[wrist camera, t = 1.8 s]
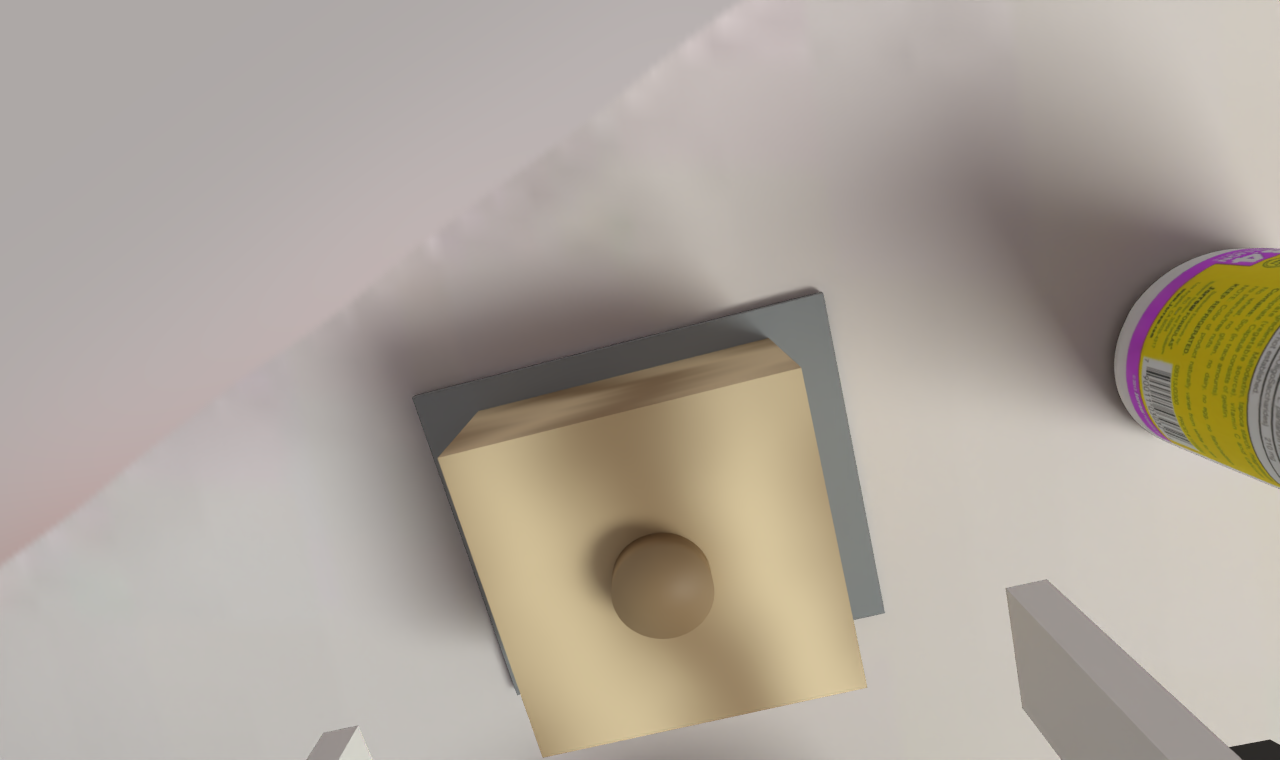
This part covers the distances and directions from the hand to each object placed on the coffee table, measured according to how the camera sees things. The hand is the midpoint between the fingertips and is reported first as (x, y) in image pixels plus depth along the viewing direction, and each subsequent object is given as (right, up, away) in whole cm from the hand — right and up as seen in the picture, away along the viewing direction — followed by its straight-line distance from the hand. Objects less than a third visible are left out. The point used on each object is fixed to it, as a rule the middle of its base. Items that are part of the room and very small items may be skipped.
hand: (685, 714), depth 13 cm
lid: (0, +2, +10) cm, 10 cm away
